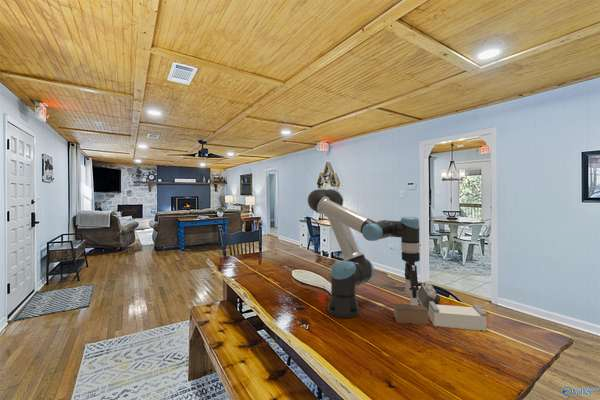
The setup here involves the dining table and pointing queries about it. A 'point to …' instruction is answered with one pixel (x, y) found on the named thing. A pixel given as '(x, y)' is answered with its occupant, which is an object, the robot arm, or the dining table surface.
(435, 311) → the stand
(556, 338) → the dining table surface
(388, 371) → the dining table surface
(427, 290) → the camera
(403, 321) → the case
